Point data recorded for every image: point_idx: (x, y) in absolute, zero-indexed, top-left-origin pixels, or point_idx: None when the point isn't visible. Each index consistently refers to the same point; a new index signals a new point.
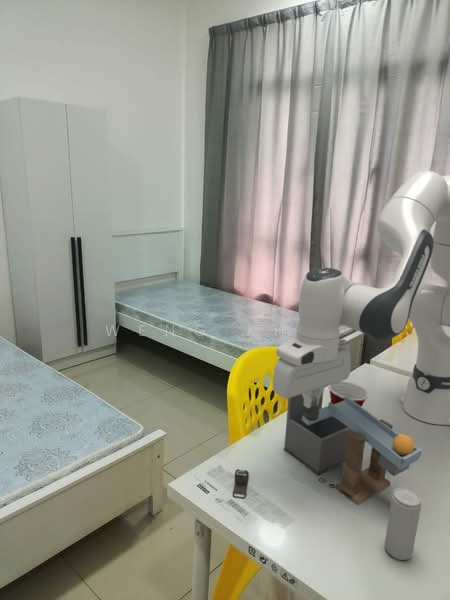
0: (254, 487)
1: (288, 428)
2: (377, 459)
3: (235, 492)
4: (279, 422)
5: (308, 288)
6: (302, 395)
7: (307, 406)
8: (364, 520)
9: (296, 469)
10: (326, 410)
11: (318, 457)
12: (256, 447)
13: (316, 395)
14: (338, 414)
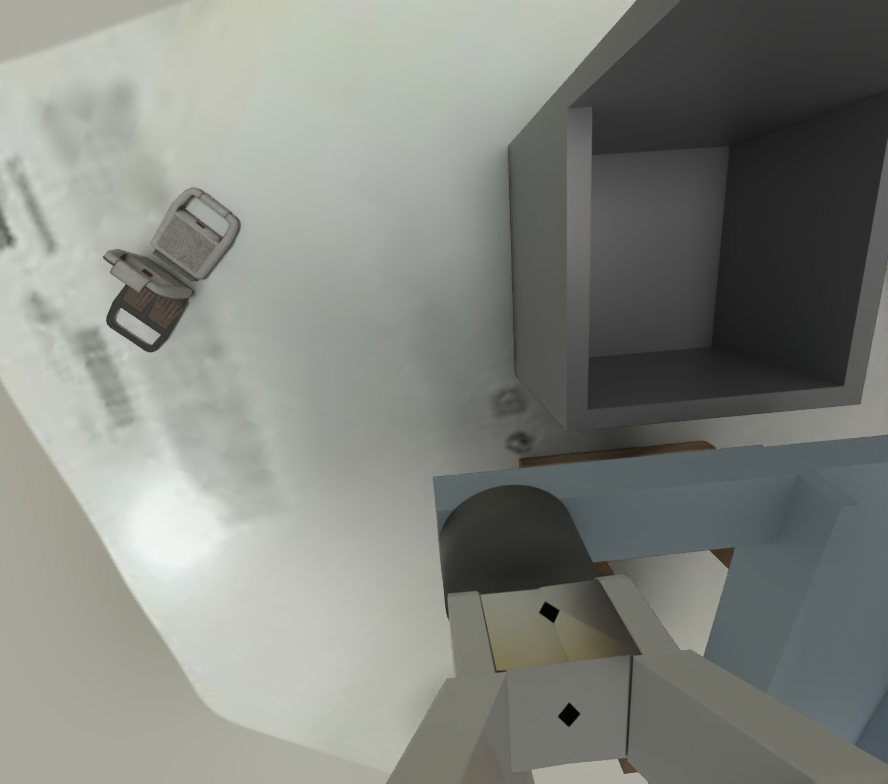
0: (224, 313)
1: (546, 130)
2: (732, 549)
3: (125, 306)
4: None
5: None
6: (413, 741)
7: (452, 658)
8: None
9: (462, 300)
10: (723, 516)
11: (536, 390)
12: (389, 42)
13: (666, 762)
14: (764, 580)
